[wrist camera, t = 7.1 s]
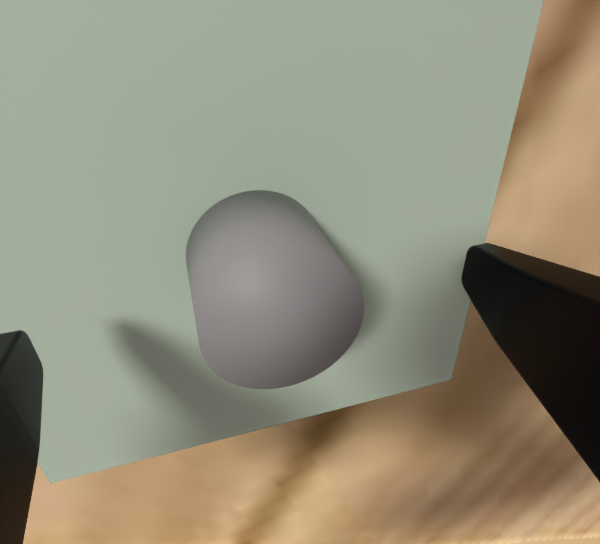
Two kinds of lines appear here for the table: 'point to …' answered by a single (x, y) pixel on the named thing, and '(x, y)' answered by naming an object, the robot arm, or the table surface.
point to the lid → (243, 206)
